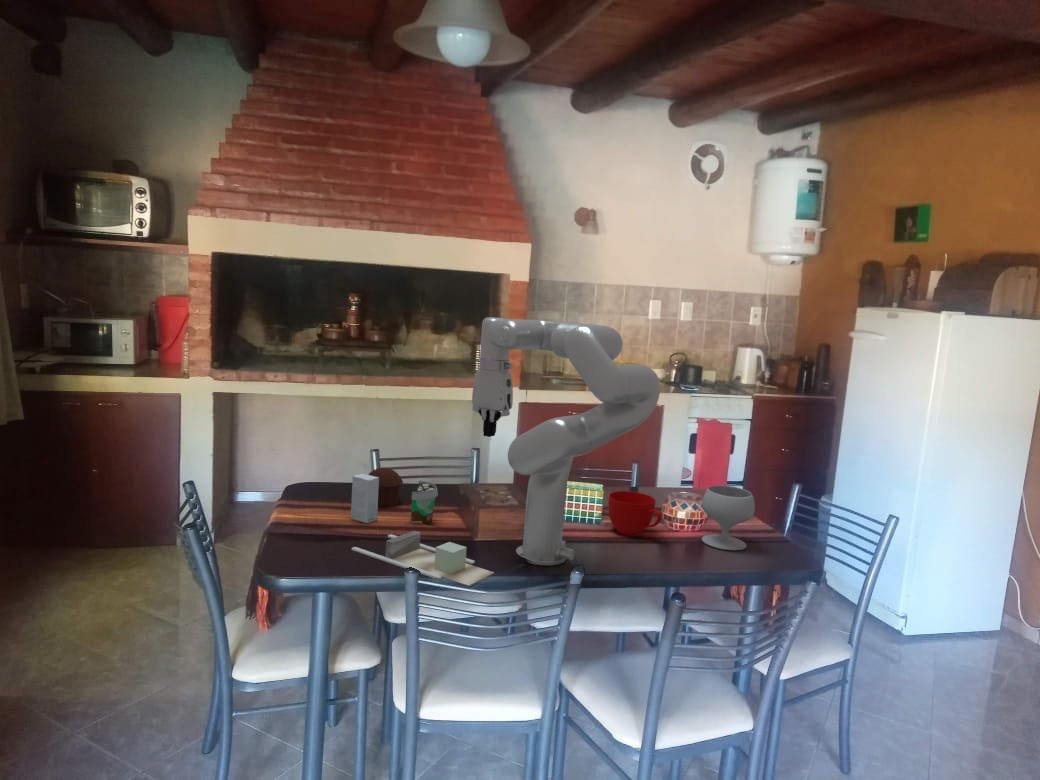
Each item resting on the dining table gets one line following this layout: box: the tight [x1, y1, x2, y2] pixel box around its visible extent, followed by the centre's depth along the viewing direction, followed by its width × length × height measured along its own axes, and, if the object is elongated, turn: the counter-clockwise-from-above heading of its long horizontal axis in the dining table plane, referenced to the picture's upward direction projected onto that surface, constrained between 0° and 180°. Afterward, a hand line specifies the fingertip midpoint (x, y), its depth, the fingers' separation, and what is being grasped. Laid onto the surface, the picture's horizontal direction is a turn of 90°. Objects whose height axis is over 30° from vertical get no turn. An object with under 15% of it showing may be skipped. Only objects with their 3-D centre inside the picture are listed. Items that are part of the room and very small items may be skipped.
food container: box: [410, 480, 439, 526], centre depth 207 cm, size 12×6×10 cm, turn 179°
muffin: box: [367, 467, 404, 508], centre depth 222 cm, size 12×11×10 cm
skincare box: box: [350, 473, 379, 524], centre depth 206 cm, size 6×4×12 cm
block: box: [434, 541, 468, 574], centre depth 173 cm, size 5×5×5 cm
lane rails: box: [351, 534, 476, 580], centre depth 180 cm, size 26×14×2 cm, turn 58°
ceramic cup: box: [607, 490, 662, 537], centre depth 212 cm, size 13×17×10 cm
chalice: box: [701, 484, 756, 551], centre depth 209 cm, size 14×14×15 cm
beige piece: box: [384, 530, 495, 589], centre depth 175 cm, size 24×10×5 cm, turn 58°
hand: (489, 435), depth 199 cm, fingers closed
